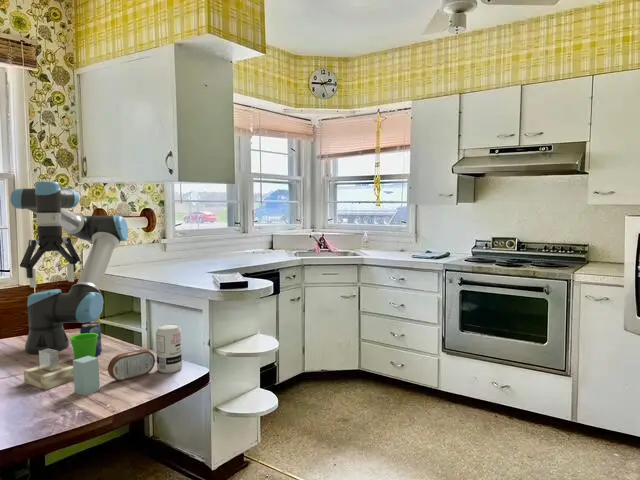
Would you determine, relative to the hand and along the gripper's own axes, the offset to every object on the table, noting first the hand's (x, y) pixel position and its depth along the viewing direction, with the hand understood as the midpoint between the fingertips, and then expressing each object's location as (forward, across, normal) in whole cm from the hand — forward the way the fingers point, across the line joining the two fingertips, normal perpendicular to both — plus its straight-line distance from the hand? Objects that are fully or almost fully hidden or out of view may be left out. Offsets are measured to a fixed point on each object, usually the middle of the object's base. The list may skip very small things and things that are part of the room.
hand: (52, 284), depth 166 cm
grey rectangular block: (+29, -12, -16) cm, 35 cm away
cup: (+29, +2, -14) cm, 32 cm away
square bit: (+29, -11, -34) cm, 46 cm away
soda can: (+29, +11, -4) cm, 31 cm away
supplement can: (+29, +14, -42) cm, 53 cm away
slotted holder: (+29, -12, -16) cm, 35 cm away
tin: (+29, +4, -37) cm, 47 cm away
